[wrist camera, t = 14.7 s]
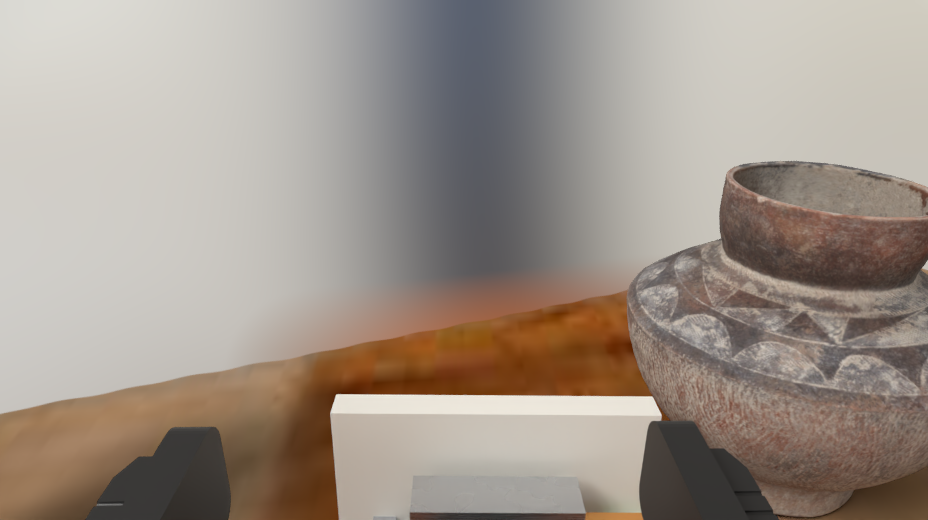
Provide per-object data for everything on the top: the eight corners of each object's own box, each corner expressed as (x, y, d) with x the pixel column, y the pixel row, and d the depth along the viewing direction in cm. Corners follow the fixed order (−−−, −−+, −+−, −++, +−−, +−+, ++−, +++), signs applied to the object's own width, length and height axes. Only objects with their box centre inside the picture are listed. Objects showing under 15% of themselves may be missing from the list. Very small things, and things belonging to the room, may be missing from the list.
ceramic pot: (1029, 531, 46) (1171, 217, 37) (767, 648, 37) (868, 277, 28) (762, 361, 67) (811, 137, 58) (557, 411, 59) (577, 157, 50)
